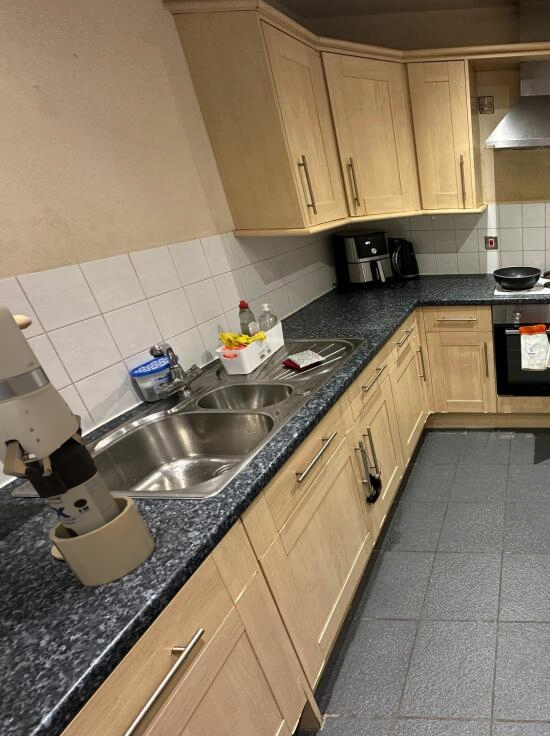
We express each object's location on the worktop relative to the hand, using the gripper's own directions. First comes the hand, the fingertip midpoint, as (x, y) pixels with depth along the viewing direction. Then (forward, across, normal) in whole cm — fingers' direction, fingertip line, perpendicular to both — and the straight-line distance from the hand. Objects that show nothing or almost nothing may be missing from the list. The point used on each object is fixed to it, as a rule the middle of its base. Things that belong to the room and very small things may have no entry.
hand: (69, 479), depth 67 cm
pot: (+19, 0, 0) cm, 19 cm away
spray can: (+15, 0, 0) cm, 15 cm away
